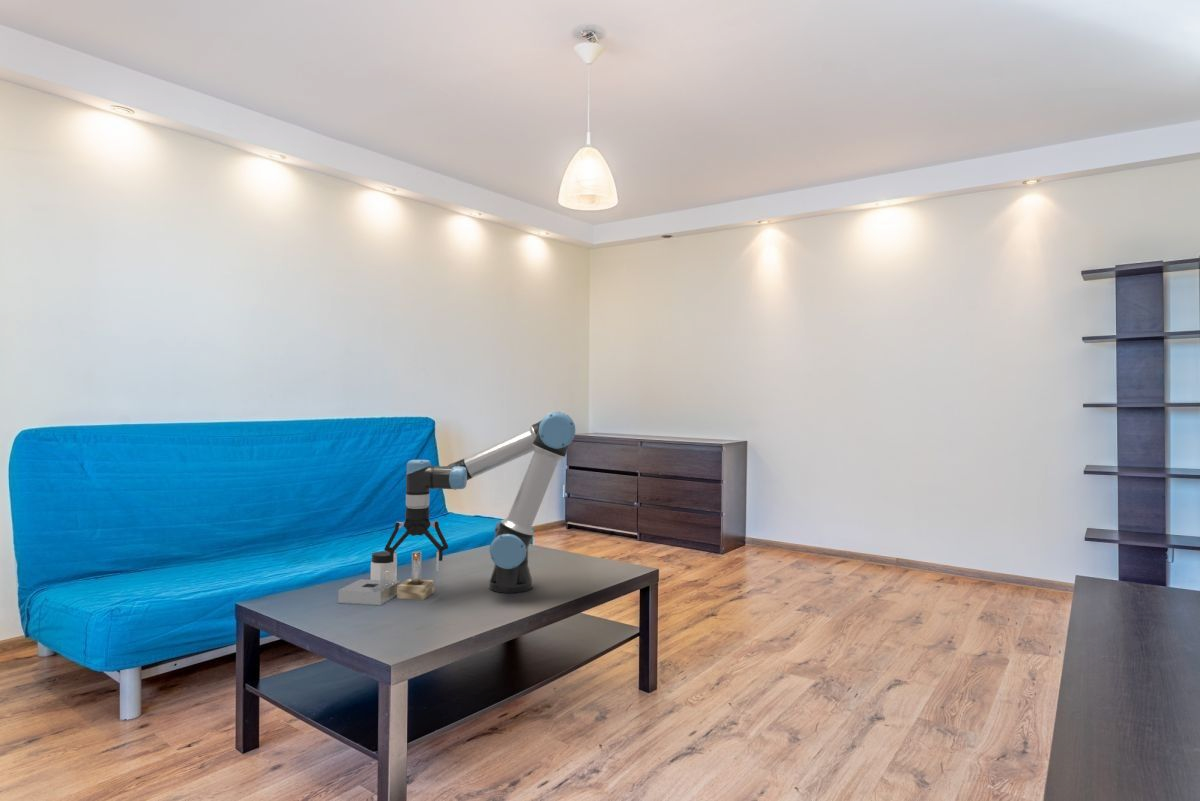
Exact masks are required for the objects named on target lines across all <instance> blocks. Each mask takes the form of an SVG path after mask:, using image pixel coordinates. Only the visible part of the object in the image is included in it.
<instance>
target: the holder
mask: <svg viewBox="0 0 1200 801" xmlns="http://www.w3.org/2000/svg"><path fill="white" fill-rule="evenodd" d="M411 579H412V578H408V579H406V580H404V581H403V582H400V584H399V585H397V596H396V598H397V599H402V600H418V601H419V600H426V599H427V598H428V597H430V596H431V595H432V594H434V593H435V580H434V579H421V585H411Z"/></svg>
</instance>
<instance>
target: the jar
mask: <svg viewBox="0 0 1200 801" xmlns="http://www.w3.org/2000/svg"><path fill="white" fill-rule="evenodd" d="M397 572H398V561H397V562H396V573H393V562H390V552H388V551H385V550H384V551H375V552H373V553H372V554H371V562H370V580H384V581H398V579H397V577H398V576H397V574H398V573H397Z"/></svg>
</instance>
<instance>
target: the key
mask: <svg viewBox="0 0 1200 801" xmlns="http://www.w3.org/2000/svg"><path fill="white" fill-rule="evenodd" d="M410 579H411V585H421V580H422V551H419V550H418V551H413V552H411V578H410Z"/></svg>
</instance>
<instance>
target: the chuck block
mask: <svg viewBox="0 0 1200 801" xmlns="http://www.w3.org/2000/svg"><path fill="white" fill-rule="evenodd" d="M399 584H401V581H400V580H397V581H384V580H371V579H364V578H363V579H361V578H360V579H358V580H356V581H354V582H352V583H349V584H347V585H346V586H344V587H342V588H339V589H338V592H337V593H338V594H337V595H338V597H337V598H338V600H337V601H338V602H337V603H338V604H348V605H349V604H351V605H364V606H365V605H366V606H367V605H368V606H369V605H370V606H383V604H385V603H387V602H388V601H390V600H392V599H394V598H395V597H397V585H399Z"/></svg>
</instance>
